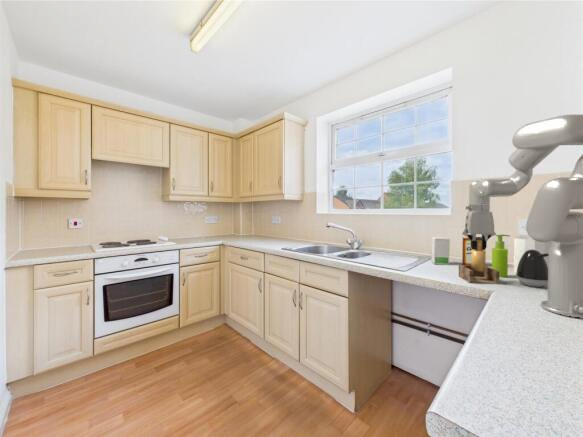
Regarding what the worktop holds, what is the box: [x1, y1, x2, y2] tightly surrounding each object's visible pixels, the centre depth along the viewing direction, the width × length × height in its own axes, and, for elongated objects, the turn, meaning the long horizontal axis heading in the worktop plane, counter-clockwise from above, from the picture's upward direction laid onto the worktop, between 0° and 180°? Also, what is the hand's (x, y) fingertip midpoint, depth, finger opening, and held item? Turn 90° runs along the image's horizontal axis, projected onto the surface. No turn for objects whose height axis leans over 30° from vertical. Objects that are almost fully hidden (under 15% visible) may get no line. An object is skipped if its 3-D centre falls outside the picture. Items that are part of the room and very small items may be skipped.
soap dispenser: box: [491, 233, 511, 278], centre depth 123 cm, size 6×7×20 cm
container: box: [513, 236, 553, 274], centre depth 125 cm, size 14×14×18 cm
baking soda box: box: [461, 236, 483, 265], centre depth 148 cm, size 10×6×16 cm
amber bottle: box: [471, 236, 487, 271], centre depth 116 cm, size 5×5×15 cm
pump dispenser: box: [515, 250, 549, 288], centre depth 108 cm, size 10×10×15 cm
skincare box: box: [431, 236, 451, 266], centre depth 152 cm, size 8×7×16 cm
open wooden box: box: [458, 264, 500, 285], centre depth 117 cm, size 11×11×6 cm
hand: (478, 248), depth 116 cm, fingers closed on amber bottle, 2 cm apart
